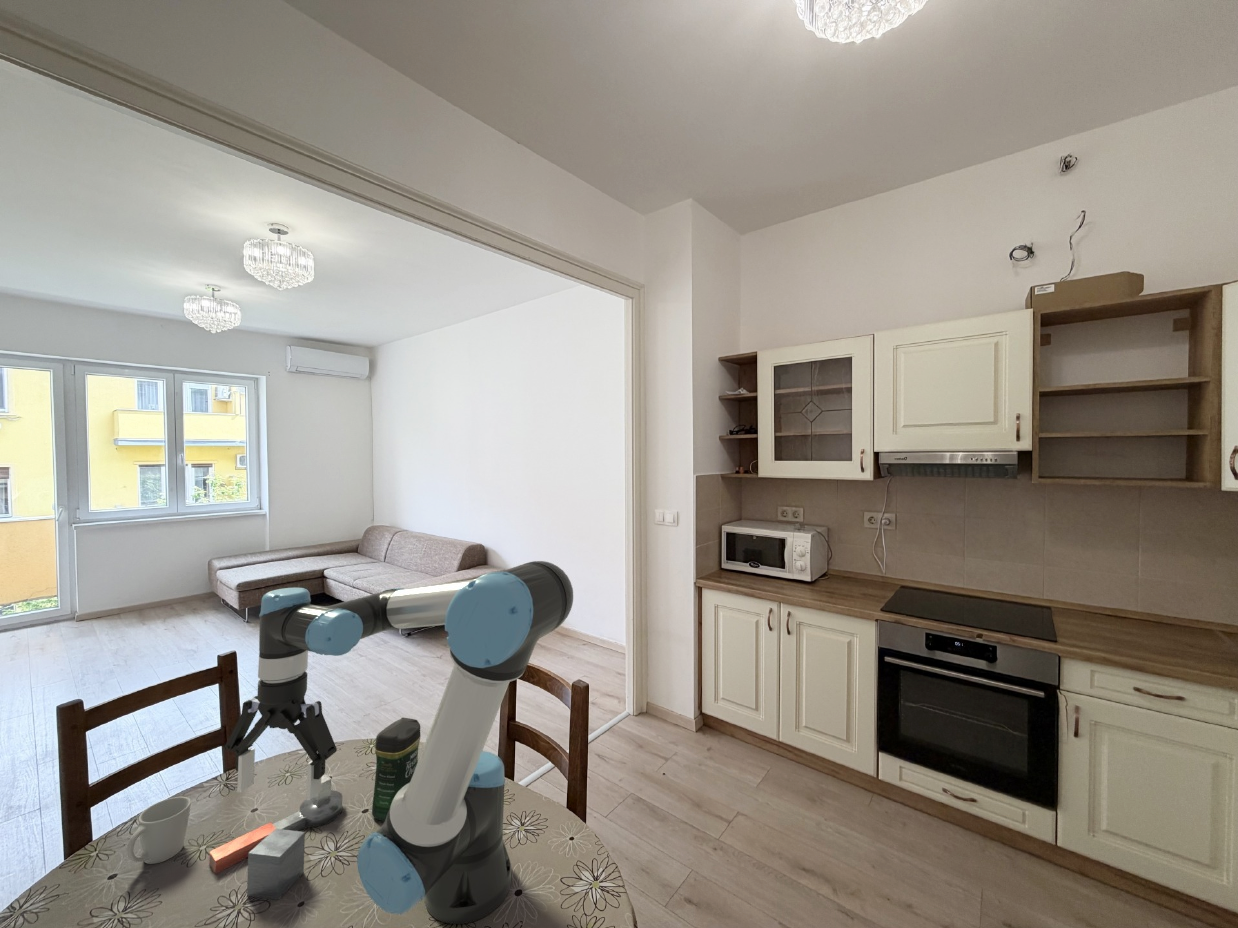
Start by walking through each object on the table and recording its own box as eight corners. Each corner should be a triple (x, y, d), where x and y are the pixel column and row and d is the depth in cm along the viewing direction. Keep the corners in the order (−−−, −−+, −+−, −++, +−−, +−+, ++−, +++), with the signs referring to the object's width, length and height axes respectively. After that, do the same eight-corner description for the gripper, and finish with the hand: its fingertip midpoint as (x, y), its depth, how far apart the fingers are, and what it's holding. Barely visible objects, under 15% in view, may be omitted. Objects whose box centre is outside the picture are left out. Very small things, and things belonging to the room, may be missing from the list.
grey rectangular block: (303, 872, 92) (304, 831, 93) (278, 899, 86) (279, 856, 87) (274, 868, 93) (275, 828, 93) (246, 895, 87) (248, 852, 87)
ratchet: (332, 796, 114) (333, 763, 114) (348, 811, 109) (349, 777, 109) (205, 858, 95) (206, 819, 95) (219, 879, 90) (220, 838, 90)
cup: (199, 841, 99) (201, 798, 99) (145, 882, 89) (147, 834, 90) (167, 836, 100) (169, 794, 101) (110, 875, 91) (112, 829, 91)
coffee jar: (397, 826, 105) (400, 738, 105) (365, 820, 106) (368, 733, 107) (424, 797, 114) (427, 716, 114) (394, 791, 116) (397, 712, 116)
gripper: (359, 671, 93) (356, 785, 92) (239, 662, 96) (235, 772, 95) (332, 688, 85) (328, 812, 85) (202, 678, 88) (198, 798, 88)
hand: (279, 791), depth 90 cm, fingers open, 13 cm apart
